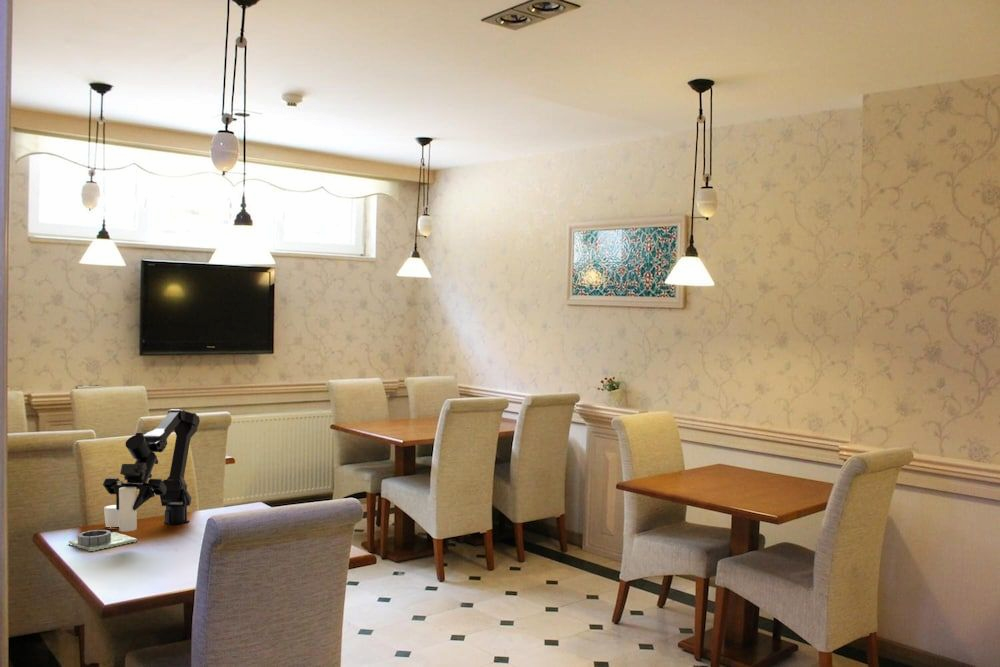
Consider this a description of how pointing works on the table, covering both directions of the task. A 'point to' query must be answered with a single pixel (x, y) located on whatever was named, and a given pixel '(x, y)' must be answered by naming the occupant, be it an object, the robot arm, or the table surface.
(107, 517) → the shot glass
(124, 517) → the post
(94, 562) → the table surface
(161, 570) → the table surface
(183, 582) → the table surface
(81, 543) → the grey ring base plate
